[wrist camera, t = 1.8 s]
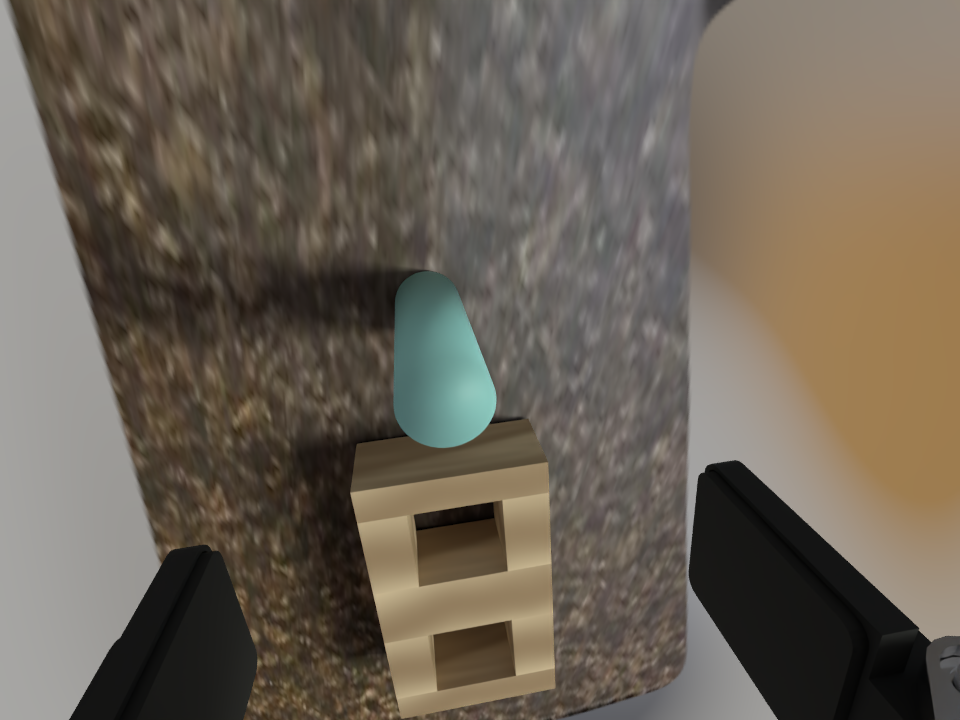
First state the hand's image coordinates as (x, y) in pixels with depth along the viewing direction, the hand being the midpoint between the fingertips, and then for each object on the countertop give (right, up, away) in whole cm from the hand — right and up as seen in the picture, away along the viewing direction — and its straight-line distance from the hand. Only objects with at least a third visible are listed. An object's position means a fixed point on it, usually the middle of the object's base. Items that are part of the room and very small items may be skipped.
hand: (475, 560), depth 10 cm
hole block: (-1, -7, +20) cm, 21 cm away
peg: (-2, +7, +14) cm, 16 cm away
